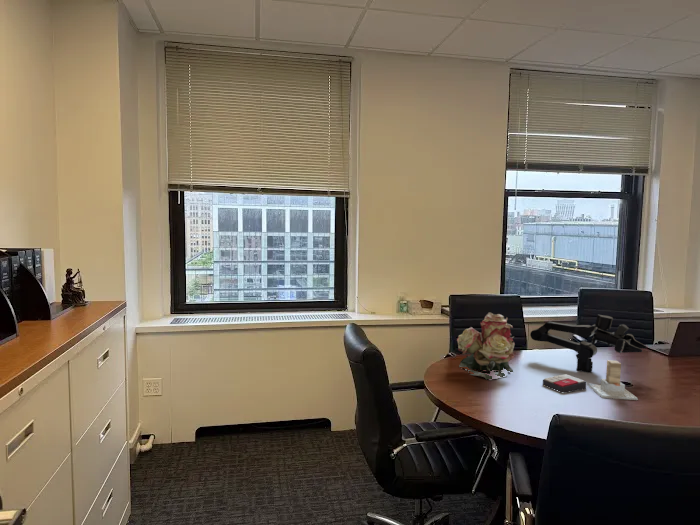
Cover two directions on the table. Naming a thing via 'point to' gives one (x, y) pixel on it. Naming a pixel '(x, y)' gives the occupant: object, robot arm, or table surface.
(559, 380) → the calculator
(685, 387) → the table surface
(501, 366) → the rose bouquet
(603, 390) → the sleeve stand
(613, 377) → the column
